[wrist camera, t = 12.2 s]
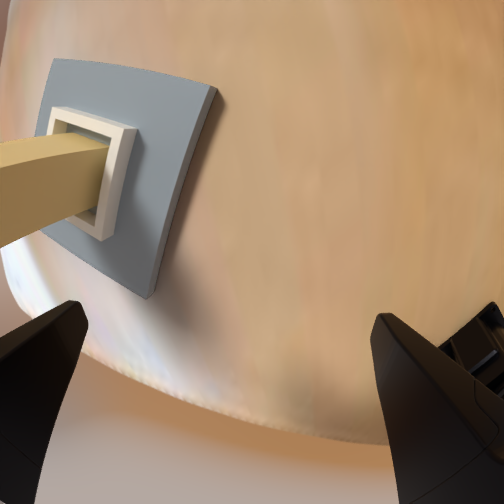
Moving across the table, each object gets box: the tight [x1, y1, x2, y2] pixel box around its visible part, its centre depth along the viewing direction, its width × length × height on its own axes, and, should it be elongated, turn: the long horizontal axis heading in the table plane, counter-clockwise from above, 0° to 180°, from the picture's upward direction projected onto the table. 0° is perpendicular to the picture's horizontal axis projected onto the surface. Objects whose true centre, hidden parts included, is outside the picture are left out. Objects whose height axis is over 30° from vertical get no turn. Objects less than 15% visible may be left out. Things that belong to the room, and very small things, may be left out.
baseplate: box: [35, 58, 217, 299], centre depth 18 cm, size 16×16×3 cm
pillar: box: [0, 132, 110, 248], centre depth 13 cm, size 4×4×13 cm
